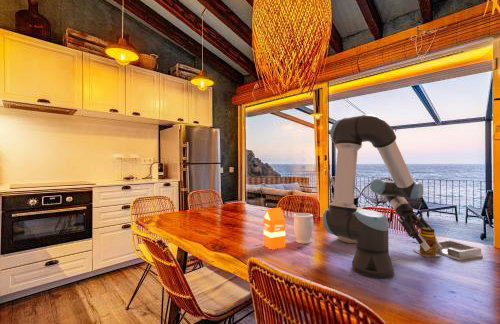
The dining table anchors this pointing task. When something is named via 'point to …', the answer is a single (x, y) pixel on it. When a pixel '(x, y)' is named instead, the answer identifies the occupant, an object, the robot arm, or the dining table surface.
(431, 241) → the condiment
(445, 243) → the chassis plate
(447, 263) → the dining table surface
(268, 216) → the orange juice
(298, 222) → the jar
